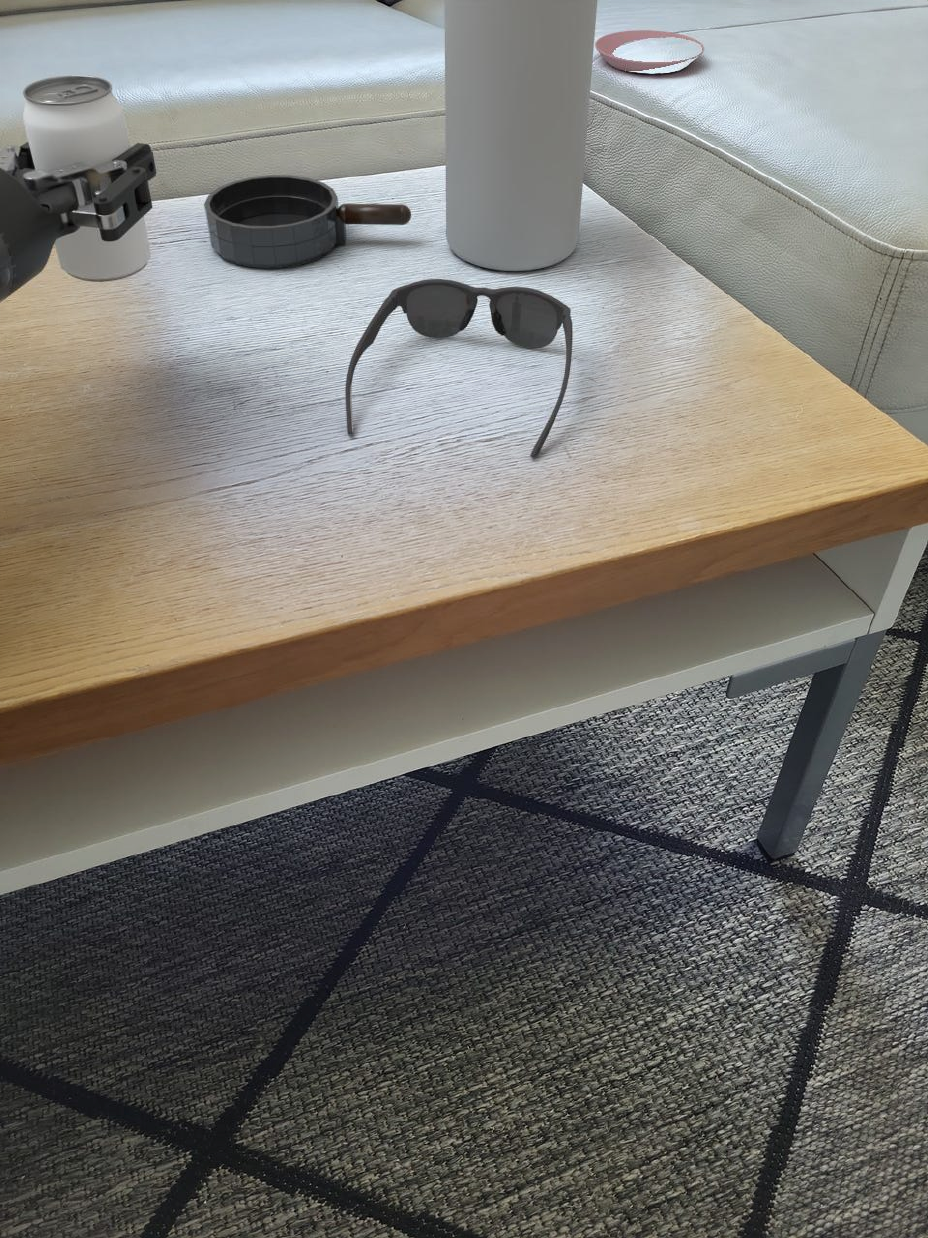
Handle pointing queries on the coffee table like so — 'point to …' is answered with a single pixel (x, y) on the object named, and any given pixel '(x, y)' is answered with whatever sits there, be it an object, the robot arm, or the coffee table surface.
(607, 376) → the coffee table surface
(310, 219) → the pan
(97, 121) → the can
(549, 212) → the cylinder vase
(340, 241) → the pan handle
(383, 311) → the sunglasses
